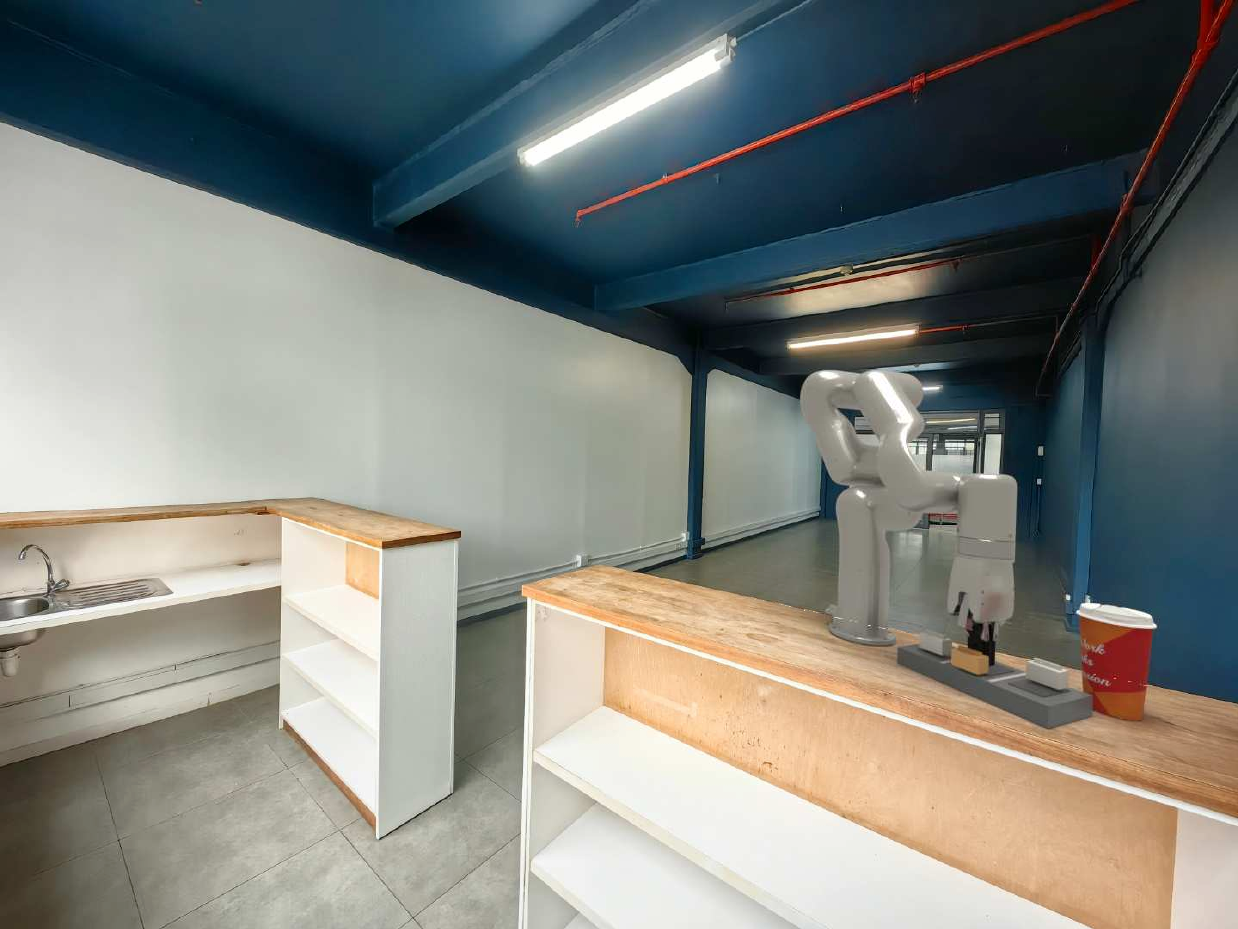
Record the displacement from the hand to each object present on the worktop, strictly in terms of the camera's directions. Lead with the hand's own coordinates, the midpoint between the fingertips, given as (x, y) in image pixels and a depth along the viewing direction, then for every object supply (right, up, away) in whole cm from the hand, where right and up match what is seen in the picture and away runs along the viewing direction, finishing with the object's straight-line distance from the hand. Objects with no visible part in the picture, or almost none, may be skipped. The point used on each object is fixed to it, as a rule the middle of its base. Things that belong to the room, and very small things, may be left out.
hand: (980, 662), depth 75 cm
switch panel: (+1, -4, 0) cm, 4 cm away
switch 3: (+6, -1, -5) cm, 8 cm away
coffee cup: (+15, -5, -6) cm, 17 cm away
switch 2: (-3, 0, -1) cm, 3 cm away
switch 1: (-3, -1, +6) cm, 7 cm away
